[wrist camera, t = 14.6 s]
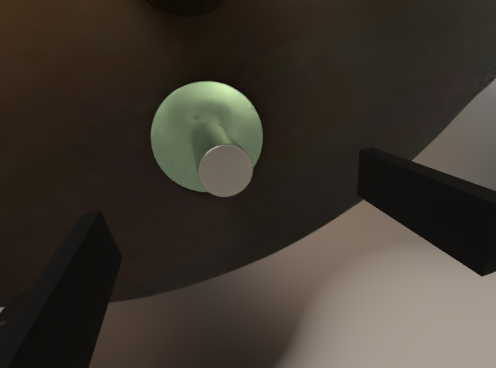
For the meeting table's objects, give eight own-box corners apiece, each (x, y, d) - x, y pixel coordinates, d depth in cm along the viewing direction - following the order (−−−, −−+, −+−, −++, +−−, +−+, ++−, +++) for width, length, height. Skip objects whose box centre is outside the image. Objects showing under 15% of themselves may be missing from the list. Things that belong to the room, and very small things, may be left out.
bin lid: (128, 107, 24) (93, 126, 14) (238, 63, 25) (278, 51, 15) (183, 203, 30) (186, 266, 20) (272, 163, 31) (318, 203, 21)
